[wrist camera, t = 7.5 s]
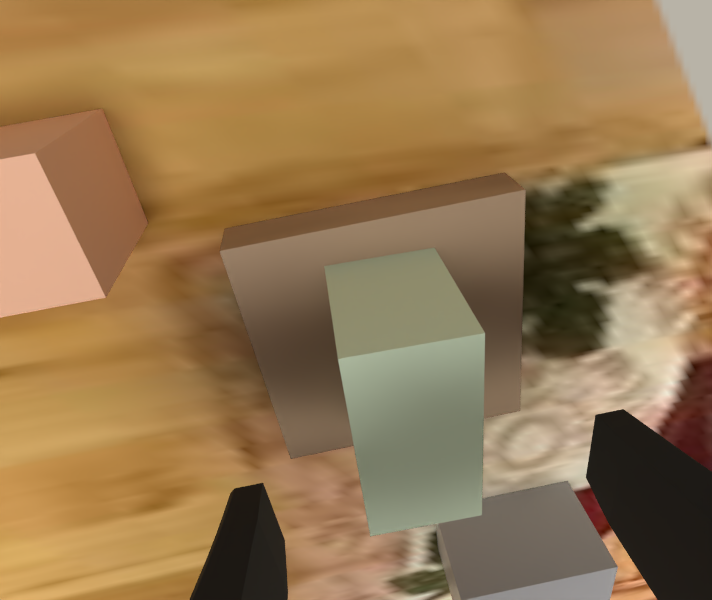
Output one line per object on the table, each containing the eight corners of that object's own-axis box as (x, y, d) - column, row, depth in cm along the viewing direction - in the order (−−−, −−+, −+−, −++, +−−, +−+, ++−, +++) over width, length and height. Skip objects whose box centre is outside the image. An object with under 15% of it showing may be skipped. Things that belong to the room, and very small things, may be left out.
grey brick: (566, 479, 22) (617, 567, 19) (561, 519, 24) (607, 607, 20) (433, 506, 22) (461, 600, 19) (437, 545, 24) (463, 638, 20)
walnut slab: (499, 373, 19) (520, 410, 17) (290, 416, 19) (291, 458, 17) (497, 166, 15) (525, 189, 13) (226, 220, 14) (219, 250, 13)
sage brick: (441, 408, 17) (482, 514, 13) (352, 424, 17) (370, 536, 13) (434, 247, 13) (485, 333, 10) (324, 266, 13) (337, 358, 10)
